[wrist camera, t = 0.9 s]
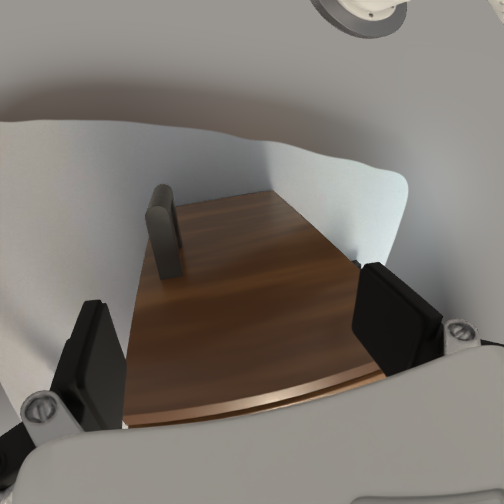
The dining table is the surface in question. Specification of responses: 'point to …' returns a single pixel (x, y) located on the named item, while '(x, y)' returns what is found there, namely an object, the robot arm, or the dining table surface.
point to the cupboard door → (237, 310)
